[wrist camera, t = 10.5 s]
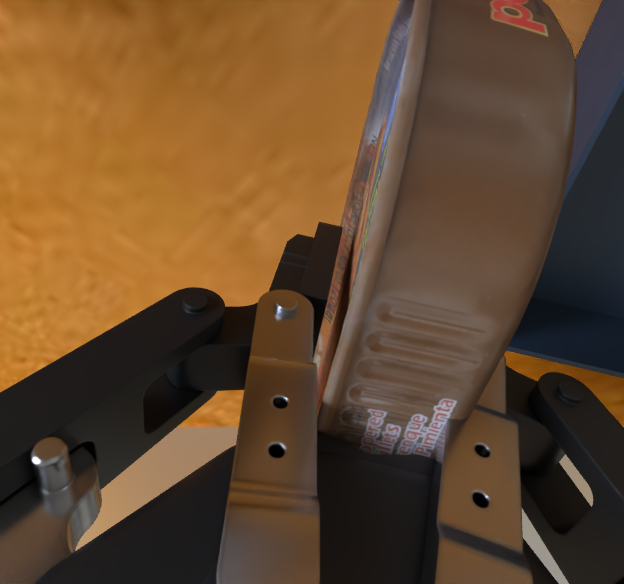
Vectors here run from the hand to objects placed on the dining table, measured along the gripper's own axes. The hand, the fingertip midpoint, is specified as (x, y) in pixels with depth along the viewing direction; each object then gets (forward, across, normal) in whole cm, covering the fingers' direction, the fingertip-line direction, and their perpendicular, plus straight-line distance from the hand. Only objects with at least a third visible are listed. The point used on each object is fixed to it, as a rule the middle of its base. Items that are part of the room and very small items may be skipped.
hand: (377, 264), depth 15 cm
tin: (+1, 0, 0) cm, 2 cm away
